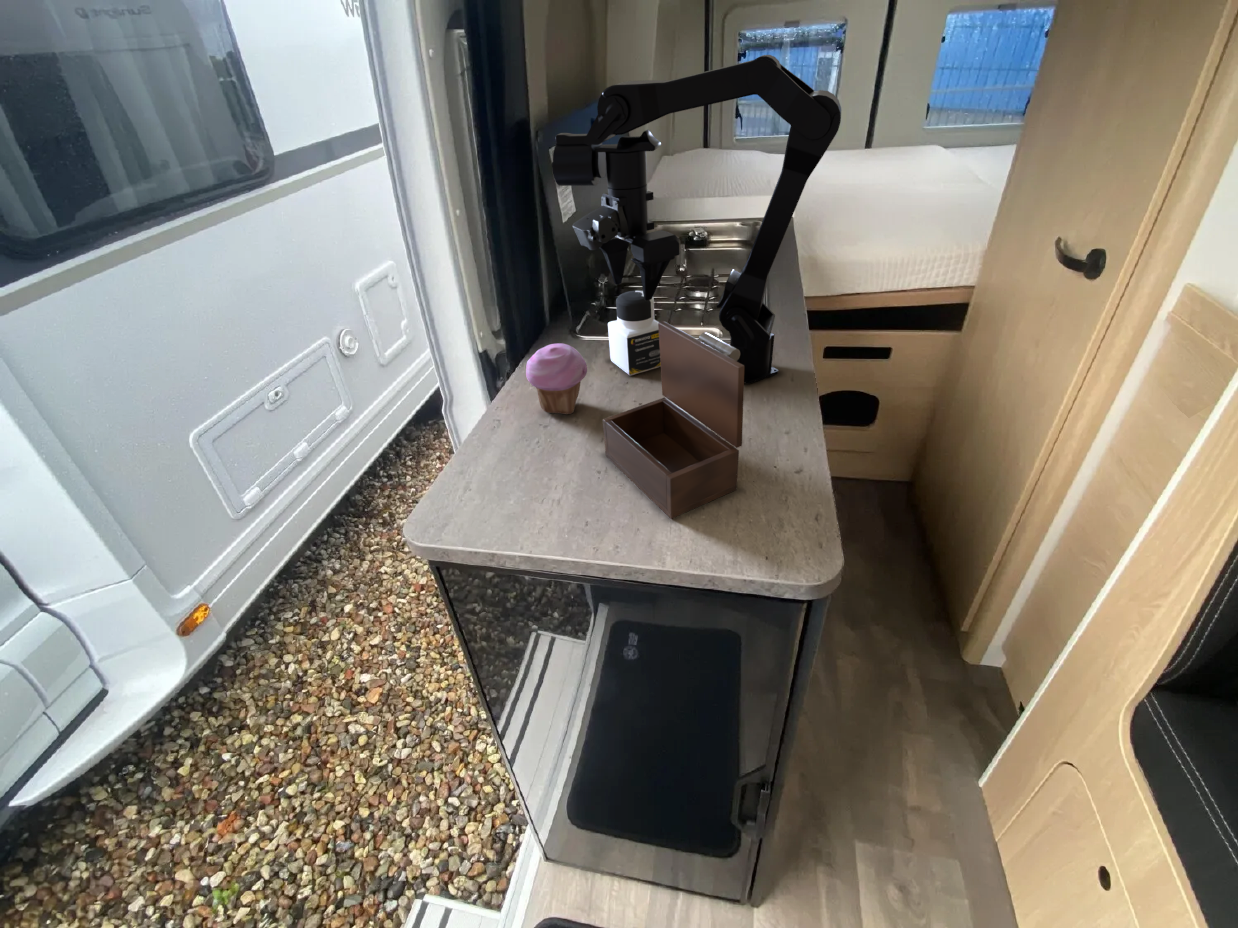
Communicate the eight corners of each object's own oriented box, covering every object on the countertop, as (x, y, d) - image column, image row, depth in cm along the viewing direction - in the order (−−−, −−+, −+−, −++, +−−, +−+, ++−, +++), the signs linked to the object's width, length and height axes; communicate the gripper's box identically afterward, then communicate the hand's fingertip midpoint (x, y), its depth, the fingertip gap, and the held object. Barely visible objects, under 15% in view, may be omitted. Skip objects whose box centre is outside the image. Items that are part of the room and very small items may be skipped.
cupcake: (524, 420, 90) (513, 359, 84) (543, 392, 97) (534, 333, 91) (582, 424, 88) (575, 362, 83) (597, 395, 95) (591, 335, 89)
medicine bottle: (629, 376, 100) (625, 306, 93) (610, 361, 105) (604, 293, 98) (666, 365, 102) (665, 296, 95) (646, 350, 107) (643, 283, 100)
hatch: (738, 367, 64) (769, 355, 65) (657, 322, 75) (685, 312, 77) (736, 448, 70) (765, 435, 71) (662, 395, 81) (687, 385, 83)
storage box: (671, 519, 70) (670, 478, 67) (605, 456, 81) (602, 418, 78) (736, 489, 74) (739, 450, 70) (665, 433, 85) (664, 397, 82)
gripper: (549, 185, 91) (561, 287, 100) (610, 206, 77) (618, 322, 86) (613, 173, 95) (619, 272, 104) (682, 192, 82) (682, 304, 91)
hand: (632, 291), depth 96 cm, fingers open, 9 cm apart
